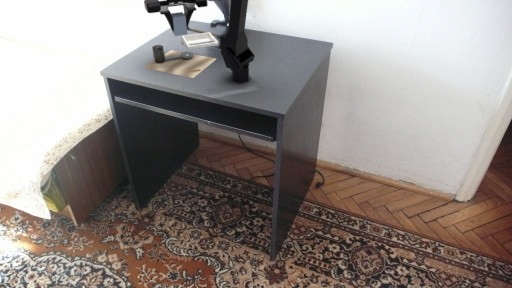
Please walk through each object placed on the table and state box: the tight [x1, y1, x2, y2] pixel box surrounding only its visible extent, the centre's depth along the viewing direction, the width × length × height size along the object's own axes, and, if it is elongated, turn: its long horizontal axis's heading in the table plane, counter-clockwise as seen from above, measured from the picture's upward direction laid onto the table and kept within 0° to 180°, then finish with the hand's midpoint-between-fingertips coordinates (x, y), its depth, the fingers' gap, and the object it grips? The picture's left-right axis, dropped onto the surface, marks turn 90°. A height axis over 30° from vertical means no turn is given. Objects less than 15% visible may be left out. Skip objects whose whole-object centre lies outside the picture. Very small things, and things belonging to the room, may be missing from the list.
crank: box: [151, 44, 194, 63], centre depth 122 cm, size 14×4×5 cm, turn 112°
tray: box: [180, 31, 220, 50], centre depth 136 cm, size 12×12×2 cm
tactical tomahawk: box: [187, 26, 222, 40], centre depth 149 cm, size 21×7×1 cm, turn 58°
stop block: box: [170, 11, 188, 37], centre depth 113 cm, size 4×4×6 cm
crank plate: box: [143, 49, 217, 79], centre depth 121 cm, size 19×16×2 cm
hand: (179, 30), depth 115 cm, fingers closed on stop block, 4 cm apart
